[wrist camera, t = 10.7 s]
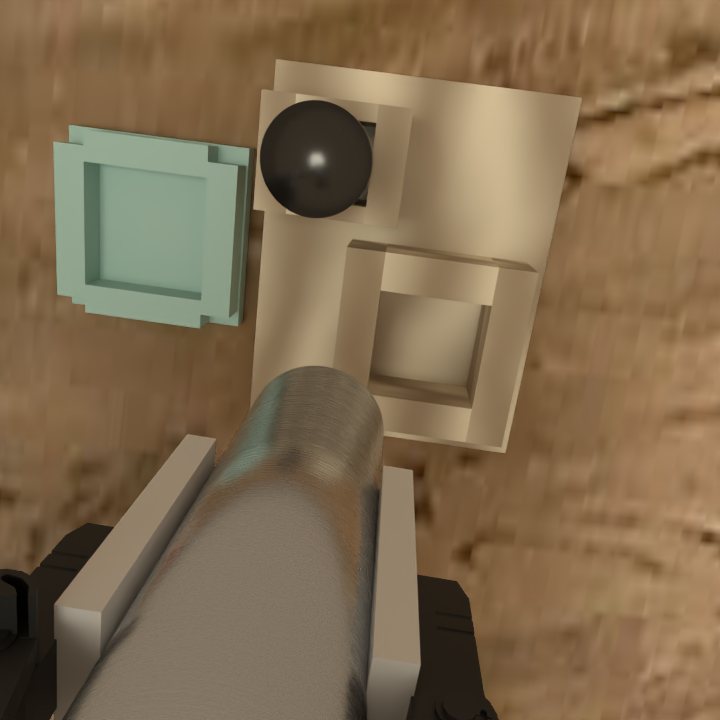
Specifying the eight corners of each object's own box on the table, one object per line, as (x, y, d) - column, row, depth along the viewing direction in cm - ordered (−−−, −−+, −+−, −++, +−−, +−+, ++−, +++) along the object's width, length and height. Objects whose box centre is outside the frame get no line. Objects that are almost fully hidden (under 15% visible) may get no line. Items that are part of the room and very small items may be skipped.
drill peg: (244, 478, 21) (-13, 1002, 8) (257, 355, 20) (-28, 740, 7) (373, 499, 21) (328, 1061, 8) (394, 377, 20) (381, 808, 7)
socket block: (252, 411, 40) (227, 451, 35) (279, 61, 34) (253, 41, 28) (503, 447, 40) (518, 494, 34) (578, 99, 33) (612, 87, 28)
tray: (82, 298, 39) (56, 309, 36) (79, 126, 36) (51, 123, 33) (242, 321, 38) (229, 334, 35) (254, 148, 35) (241, 148, 32)
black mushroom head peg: (294, 197, 34) (255, 210, 25) (302, 111, 33) (264, 92, 24) (375, 208, 34) (364, 225, 25) (386, 121, 33) (378, 107, 24)
